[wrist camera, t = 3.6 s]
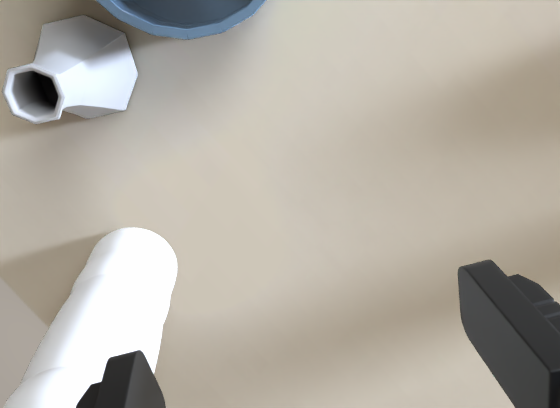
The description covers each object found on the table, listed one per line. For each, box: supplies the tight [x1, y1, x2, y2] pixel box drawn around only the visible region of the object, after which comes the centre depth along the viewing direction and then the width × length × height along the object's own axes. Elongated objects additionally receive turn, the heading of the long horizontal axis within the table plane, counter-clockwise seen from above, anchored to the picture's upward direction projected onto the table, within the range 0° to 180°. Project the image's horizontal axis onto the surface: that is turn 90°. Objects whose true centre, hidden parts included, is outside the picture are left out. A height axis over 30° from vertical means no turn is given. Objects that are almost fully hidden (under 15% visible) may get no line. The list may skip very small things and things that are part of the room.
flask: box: [2, 15, 138, 124], centre depth 31 cm, size 7×7×10 cm
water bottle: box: [3, 228, 177, 408], centre depth 30 cm, size 7×7×25 cm
